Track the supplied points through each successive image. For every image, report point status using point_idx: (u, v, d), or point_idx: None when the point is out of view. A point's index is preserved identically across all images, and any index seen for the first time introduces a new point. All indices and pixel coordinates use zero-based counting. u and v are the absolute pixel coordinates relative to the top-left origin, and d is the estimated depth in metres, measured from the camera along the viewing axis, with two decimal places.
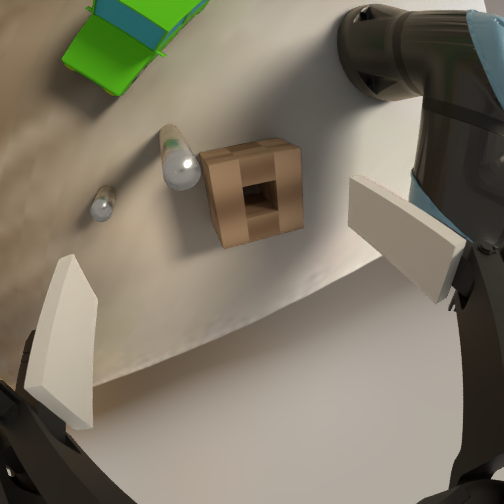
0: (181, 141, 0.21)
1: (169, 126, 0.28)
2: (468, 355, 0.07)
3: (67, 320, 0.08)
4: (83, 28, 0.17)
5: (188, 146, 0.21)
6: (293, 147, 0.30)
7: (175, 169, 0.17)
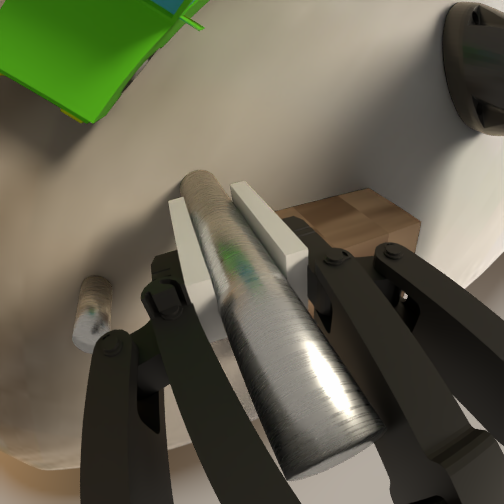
0: (278, 283, 0.08)
1: (202, 178, 0.15)
2: None
3: None
4: None
5: (300, 300, 0.08)
6: (409, 218, 0.17)
7: (324, 462, 0.05)
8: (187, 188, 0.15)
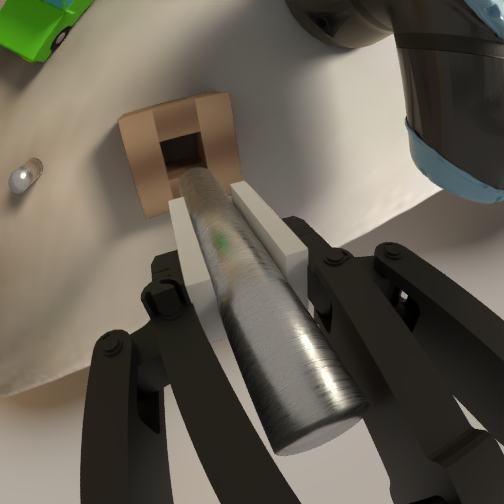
0: (269, 268, 0.09)
1: (200, 175, 0.16)
2: None
3: None
4: (5, 4, 0.10)
5: (289, 285, 0.09)
6: (221, 93, 0.23)
7: (310, 434, 0.05)
8: (186, 184, 0.16)
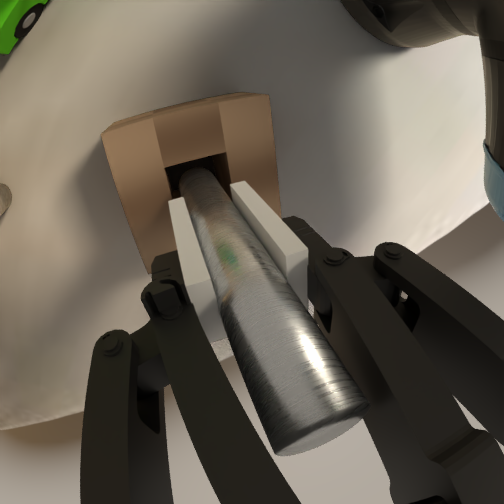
0: (269, 268, 0.09)
1: (200, 175, 0.16)
2: None
3: None
4: None
5: (289, 285, 0.09)
6: (257, 95, 0.16)
7: (310, 434, 0.05)
8: (185, 184, 0.16)
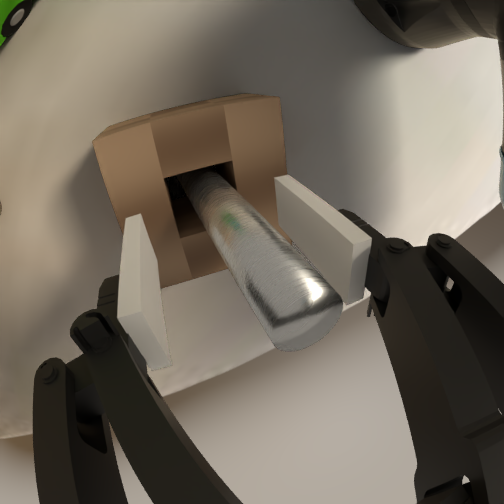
0: (258, 216, 0.12)
1: None
2: (400, 367, 0.07)
3: (146, 266, 0.10)
4: None
5: (274, 228, 0.11)
6: (266, 97, 0.14)
7: (298, 320, 0.08)
8: None
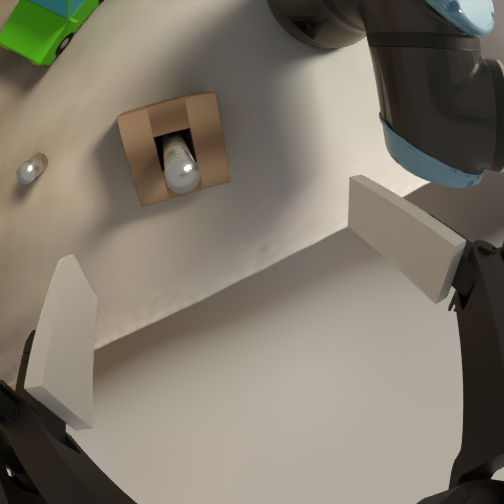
0: (182, 147, 0.23)
1: (172, 132, 0.30)
2: (468, 355, 0.07)
3: (67, 320, 0.08)
4: (13, 11, 0.13)
5: (189, 152, 0.23)
6: (209, 93, 0.26)
7: (176, 174, 0.19)
8: (164, 136, 0.30)
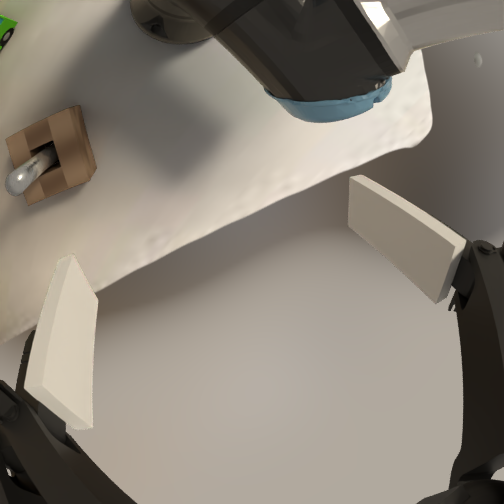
0: (32, 159, 0.23)
1: (53, 143, 0.31)
2: (468, 355, 0.07)
3: (67, 320, 0.08)
4: None
5: (35, 162, 0.23)
6: (66, 109, 0.27)
7: (11, 182, 0.20)
8: None
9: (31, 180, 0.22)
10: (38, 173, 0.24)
